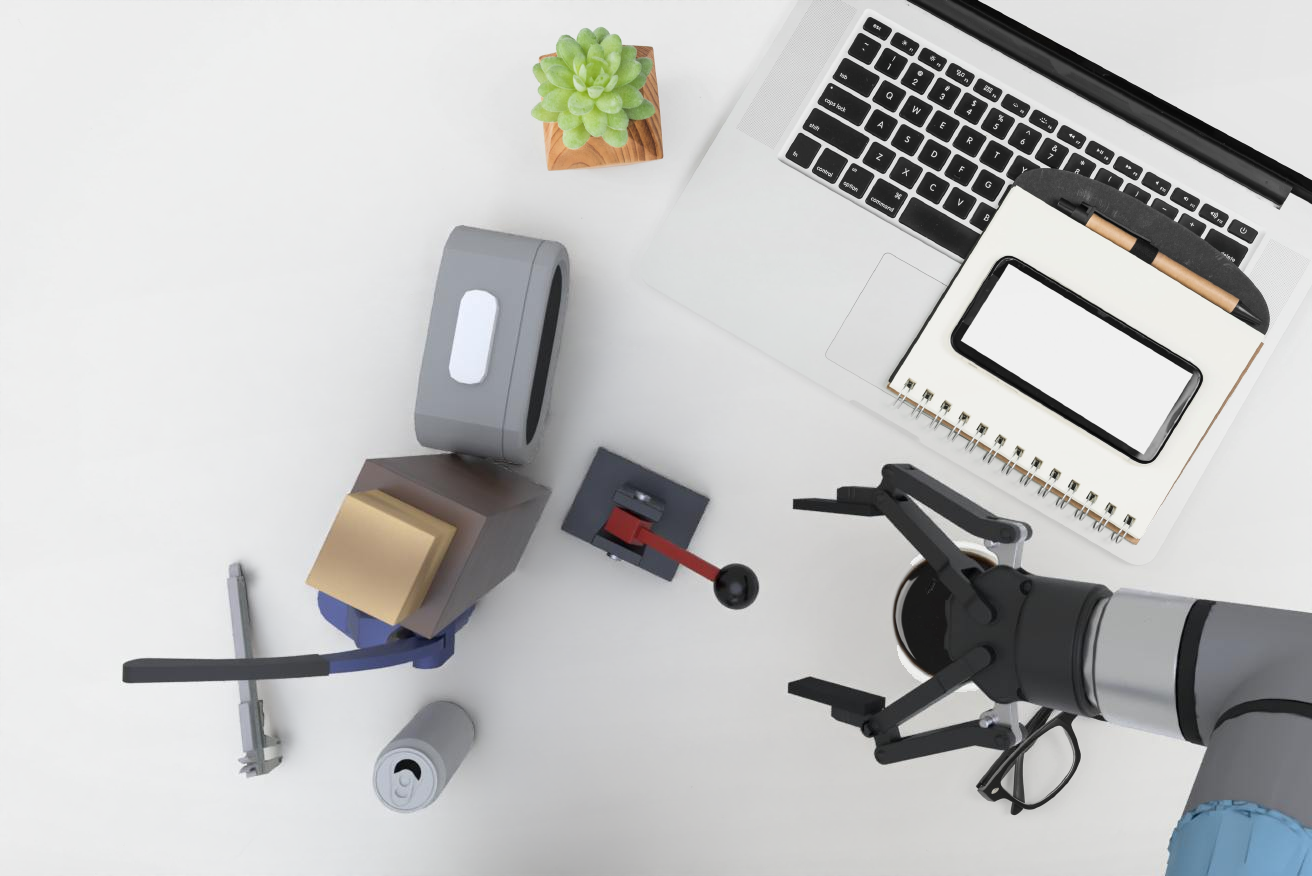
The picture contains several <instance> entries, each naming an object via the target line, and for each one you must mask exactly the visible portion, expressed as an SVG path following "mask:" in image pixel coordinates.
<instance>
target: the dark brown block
mask: <svg viewBox="0 0 1312 876" xmlns="http://www.w3.org/2000/svg"><path fill="white" fill-rule="evenodd" d="M376 489H377V490H379V491H382V492H384V493H386V494H388V495H390V496H392V497H394V498H396V499H398V500H400V501H402V502H404V503H407V504H409V505H411V506H413V507H415V508H417V509H419V510H421V511H423V512H425V513H427V514H429V515H432V516H434V517H436V518H438V519H440V520H442V521H444V522H446V523H448V524H450V525H452V526H454V527H456V528H457V530H456V532H455V534H454V537H453V539H452V541H451V543H450V545H449V547H448V549H447V551H446V554H445V556H444V558H443V560H442V562H441V564H440V566H439V568H438V571H437V573H436V575H435V577H434V579H433V581H432V583H431V585H430V588H429V590H428V592H427V594H426V596H425V598H424V600H423V602H422V605H421V607H420V609H419V610H417V611H416V612H414V613H413V614H411V615H409V616H408V617H406V618H405V619H403V620H402V621H400V622H399V623H397V624H399V625H401V626H403V627H405V628H407V629H409V630H411V631H413V632H416V633H418V634H420V635H422V636H424V637H426V638H428V639H431V638H433V637H434V636H435V635H436V634H437V633H439V632H440V631H441V630H442V629H444V628H445V627H446V626H447V625H449V624H450V623H451V622H452V621H453V620H455V619H456V618H457V617H458V616H460V615H461V614H462V613H463V612H465V611H466V610H467V609H468V608H470V607H471V606H472V605H473V604H474V603H475V604H476V603H477V602H479V601H480V600H481V599H482V598H483V597H484V596H486V595H488V593H489V592H491V591H492V590H493V589H495V588H496V587H497V586H498V585H500V583H502V582H503V581H504V580H505V579H507V578H508V577H509V576H510V575H512V574H513V573H514V572H515V571H516V569H517V566H518V565H519V562H520V560H521V558H522V556H523V554H524V552H525V550H526V547H527V545H528V543H529V542H530V539H531V537H532V535H533V533H534V531H535V528H536V526H537V524H538V522H539V520H540V518H541V516H542V514H543V511H544V509H545V507H546V505H547V503H548V501H549V499H550V496H551V494H552V493H553V489H551V488H549V487H547V486H544V485H542V484H541V483H538V482H536V481H534V480H533V479H530V478H527V477H526V476H524V475H522V474H519V473H518V472H515V471H513V470H511V469H509V468H507V467H505V466H503V465H500V464H498V463H496V462H494V461H493V460H491V459H486V458H480V457H475V456H469V455H464V454H458V453H453V452H449V453H437V454H420V455H405V456H391V457H390V456H389V457H376V458H366V459H365V461H364V463H363V465H362V467H361V469H360V470H359V474H358V476H357V478H356V480H355V482H354V484H353V486H352V488H351V490H350V493H349V494H353V493H359V492H365V491H370V490H376Z"/></svg>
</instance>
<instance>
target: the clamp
mask: <svg viewBox="0 0 1312 876" xmlns="http://www.w3.org/2000/svg"><path fill="white" fill-rule="evenodd" d="M316 599H317V606H318V610H319V611H320V614H321V616H322V617H323V618H324V620H325V621H326V622H328V623H329V624H330V625H332V626H333V627H334V628H336V629H337V630H338V631H340V632H341V633H343V634H344V635H345V636H346V637H348V638H349V639H351V640H352V641H353V642H354V644H355V646H356V648H357V649H351V650H344V651H339V652H332V653H324V654H319V653H312V654H311V653H310V654H301V655H289V656H273V657H272V656H270V657H253V658H241V659H236V658H178V657H177V658H175V657H172V658H171V657H170V658H169V657H168V658H167V657H140V658H134V659H130V660H127V661H124V662H123V663H122V675H121V676H122V677H121V681H122V682H123V683H124V684H155V683H156V684H157V683H159V684H162V683H163V684H164V683H197V682H200V683H201V682H233V681H234V682H236V681H237V682H238V681H239V680H256V681H262V680H264V681H265V680H282V679H283V680H284V679H301V678H316V677H329V676H330V675H334V674H345V673H355V672H356V673H357V672H363V671H371V670H378V669H385V668H390V667H395V666H401V665H404V664H408V663H411V662H412V668H415V669H419V670H432V669H438V668H440V667H442V666H444V664H445V663H446V662H448V660H450V658H452V657H453V656H454V655H455V646H456V634H457V633H458V632H460V630H461V629H463V628H464V627H465V626H466V625H467V624H468V623H469V620H470V617H471V616H472V614H473V613H474V610H475V607H476V603H474V604H473V605H472V606H471V607H470V608H468V609H467V610H466V611H465V612H463V613H462V614H461V615H460V616H458V617H457V618H456V619H455V620H453V621H452V622H451V623H450V624H449V625H447V626H446V627H445V628H444V629H442V630H441V631H440V632H439V633H437V634H436V635H435V636H434V637H433V638H431V639H428V638H426V637H424V636H422V635H420V634H418V633H416V632H413V631H411V630H409V629H407V628H405V627H403V626H401V625H399V624H396V625H394V626H392V625H390V624H388V623H386V622H383V621H381V620H379V619H377V618H375V617H373V616H371V615H369V614H367V613H365V612H363V611H361V610H359V609H357V608H355V607H352V606H350V605H348V604H346V603H344V602H342V601H340V600H338V599H336V598H334V597H332V596H330V595H328V594H326V593H324V592H321V591H319V590H318V593H317V597H316Z"/></svg>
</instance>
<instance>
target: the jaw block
mask: <svg viewBox="0 0 1312 876" xmlns="http://www.w3.org/2000/svg"><path fill="white" fill-rule="evenodd" d="M456 530H457V528H456V527H454V526H452V525H450V524H448V523H446V522H444V521H442V520H440V519H438V518H436V517H434V516H432V515H429V514H427V513H425V512H423V511H421V510H419V509H417V508H415V507H413V506H411V505H409V504H407V503H404V502H402V501H400V500H398V499H396V498H394V497H392V496H390V495H388V494H386V493H384V492H382V491H379V490H377V489H376V490H370V491H365V492H359V493H353V494H350V493H347V494H346V495H345V497H344V499H343V501H342V503H341V506H340V508H339V510H338V512H337V513H336V515H335V519H334V521H333V523H332V525H331V527H330V529H329V531H328V533H327V536H326V538H325V540H324V542H323V544H322V546H321V548H320V550H319V553H318V555H317V557H316V558H315V561H314V563H313V566H312V568H311V569H310V571H309V573H308V576H307V579H306V580H305V585H307V586H309V587H311V588H314V589H316V590H317V591H318V592H319V591H321V592H324V593H326V594H328V595H330V596H332V597H334V598H336V599H338V600H340V601H342V602H344V603H346V604H348V605H350V606H352V607H355V608H357V609H359V610H361V611H363V612H365V613H367V614H369V615H371V616H373V617H375V618H377V619H379V620H381V621H383V622H386V623H388V624H390V625H392V626H394V625H396V624H397V623H399V622H400V621H402V620H403V619H405V618H406V617H408V616H409V615H411V614H413V613H414V612H416V611H417V610H419V609H420V607H421V605H422V602H423V600H424V598H425V596H426V594H427V592H428V590H429V588H430V585H431V583H432V581H433V579H434V577H435V575H436V573H437V571H438V568H439V566H440V564H441V562H442V560H443V558H444V556H445V554H446V551H447V549H448V547H449V545H450V543H451V541H452V539H453V537H454V534H455V532H456Z"/></svg>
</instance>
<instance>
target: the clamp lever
mask: <svg viewBox="0 0 1312 876" xmlns="http://www.w3.org/2000/svg"><path fill="white" fill-rule="evenodd" d="M652 524H653V523H652V522H650V521H648V520H646V519H645V518H643V517H641V516H639V515H637V514H636V513H634V512H632V511H630V510H628V509H624V508H620V507H617V506H615V507H614V509H613V511H612V513H611V515H610V517H609V520H608V522H607V524H606V526H605V528H604V530H606V531H608V532H609V533H611V534H613V535H615V536H616V537H618V538H620V539H622V540H623V541H625V542H627V543H629V544H634V545H639V546H642V545H643V543H645V544H646V545H648V546H650V547H652V548H653V549H655V550H657V551H659V552H660V553H662V554H664V555H666V556H668V557H669V558H671V559H673V560H675V561H676V562H678V563H680V564H679V565H682V566H683V567H685V568H687V569H689V570H690V571H692V572H693V573H696V574H698V575H700V576H701V577H703V578H705V579H707V580H708V581H710V582H712V584H713V585H712V588H713V589H712V590H713V593H714V597H715V598H716V600H717V601H718V602H719V603H720V604H721V605H722V606H723V607H724V608H726V609H728V610H734V611H738V610H744V609H746V608H748V607H750V606H751V605H753V604H754V603H755V601H756V599H757V598H758V596H759V593H760V582H759V578H758V575H757V574H756V573H755V571H754V570H753V569H752V568H750V566H747V565H745V564H743V563H735V562H734V563H729V564H726V565H724V566H722V567H721V568H720V567H718V566H716V565H715V564H712V563H710V562H709V561H707V560H706V559H703V558H702V557H700V556H698V555H696V554H695V553H693V552H690V551H689V550H687V549H686V550H685V549H683V548H682V547H680V546H678V545H676V544H674V543H673V542H671V541H669V540H667V539H665V538H664V537H662V536H660V535H658V534H656V533H655V532H653V531H651V530H650V528H651V526H652Z"/></svg>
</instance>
